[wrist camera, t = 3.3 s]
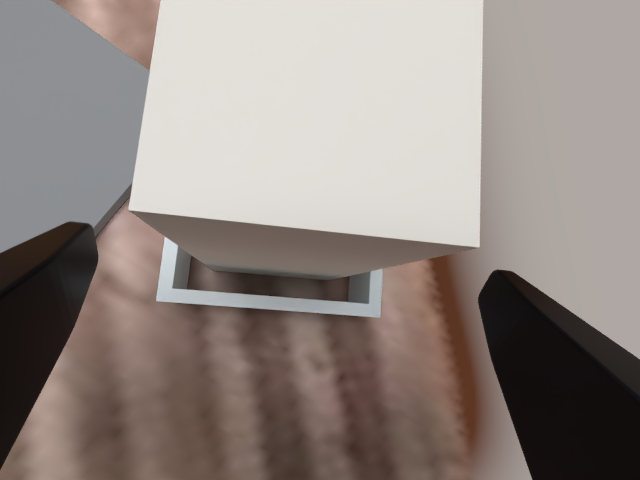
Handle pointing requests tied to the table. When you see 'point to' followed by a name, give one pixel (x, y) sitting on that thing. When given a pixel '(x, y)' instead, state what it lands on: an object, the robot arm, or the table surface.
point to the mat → (63, 121)
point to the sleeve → (174, 289)
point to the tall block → (313, 133)
